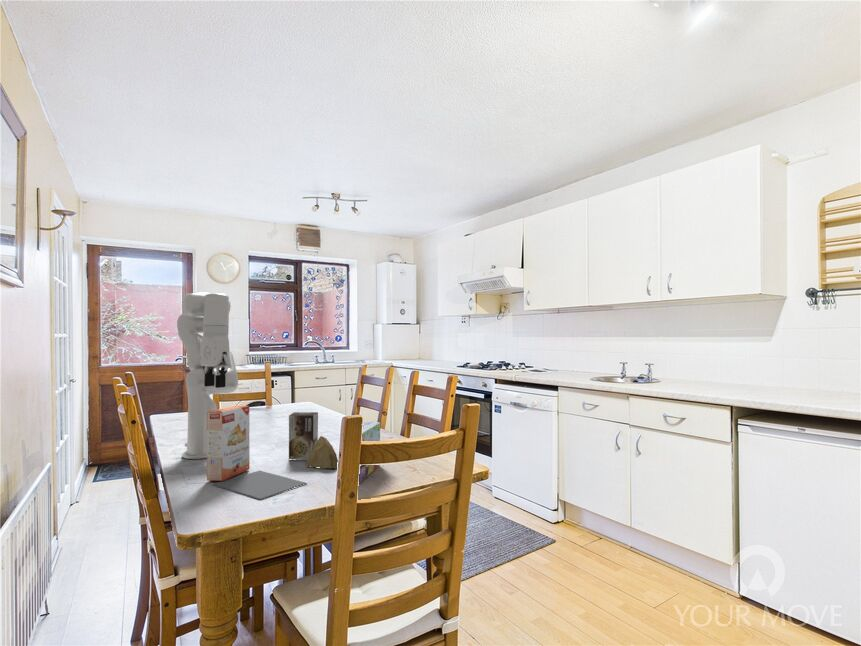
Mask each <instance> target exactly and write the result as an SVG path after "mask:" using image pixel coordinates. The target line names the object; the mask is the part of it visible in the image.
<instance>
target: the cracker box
mask: <svg viewBox="0 0 861 646" xmlns="http://www.w3.org/2000/svg"><path fill="white" fill-rule="evenodd" d="M250 457H251V456H250V405H233V406H227V407H224V408H219V409H218V408H217V410H213V411H208V412H207V458H206V481H212V482H221V481H224V480H228V479H232V478H234V476H237V475H239V474H242V473H244V472H246V471H248V470H250V467H251V466H250Z"/></svg>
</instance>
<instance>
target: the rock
mask: <svg viewBox="0 0 861 646" xmlns="http://www.w3.org/2000/svg"><path fill="white" fill-rule="evenodd" d="M337 462H338V463H339V460H338V457H337V453H336V451H335V449H334V447H333V445H332V444H331V443H330V442H329V440H328V439H327V438H326V437H324V436H322V435H320V436H319V437H318V441H317V442H316V444H315V446H314V448H313V450H312V452H311V454H310V455H309V457H308V460H306V464H305V466H311V467H320V468H319V469H322V468H334V470H335V469H338V468H337ZM311 467H310V468H311Z"/></svg>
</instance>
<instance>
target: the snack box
mask: <svg viewBox="0 0 861 646" xmlns="http://www.w3.org/2000/svg"><path fill="white" fill-rule="evenodd" d="M363 423H364V425H363V433H362V441H380V442H381V424H382V423H381V422H379V421H366V422H363ZM378 467H380V464H379V465H361V466H360V474H359V484H360V483H361V482H363V481H364V480H365V479H366V478H367V477H368V476H369V475H370V474H372V473H373V471H375V470H376V469H377V468H378Z"/></svg>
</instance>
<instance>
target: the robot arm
mask: <svg viewBox="0 0 861 646" xmlns="http://www.w3.org/2000/svg"><path fill="white" fill-rule="evenodd" d="M181 305H182V306H181V308H182V312H183V313H182V314H180V315H179V316H178V318H177V320H176V328H177V334H178V337H179V339H180V340H181V343H182V344H183V346H184V348H185V351H186V352H185V353H186V359H187V366H188V369H189V370H190V371H189V372H187V374H186V376H185V377H186V378H185V385H186V386H185V387H186V393H187V438H186V439H187V441H186V443H184V446H185V447H186V450H185V451H184V452H182V454H181V456H182V458H183V459H187V460H201V459H203V460H204V459H207V412H208V411H213V410H218V405H217V404H216V402H215V401H214V399H212V397H210V396H211V395H220V394H230V393H231V394H232V393H234V392H235V391H237V389H238V385H239V377H238V372H237V368H236V363H235V359H234V355H233V354H232V352H231V351H230V339H229V338H230V337H229V326H230V325H229V324H230V323H229V321H230V311H231V308H232V307H231V300H230V297H229V295H228V294H225V293H220V292H219V293H218V292H215V293H214V292H213V293H212V292H211V293H209V292H197V293H185V294H184V295H183V297H182V301H181ZM201 334H203V335H201Z"/></svg>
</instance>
